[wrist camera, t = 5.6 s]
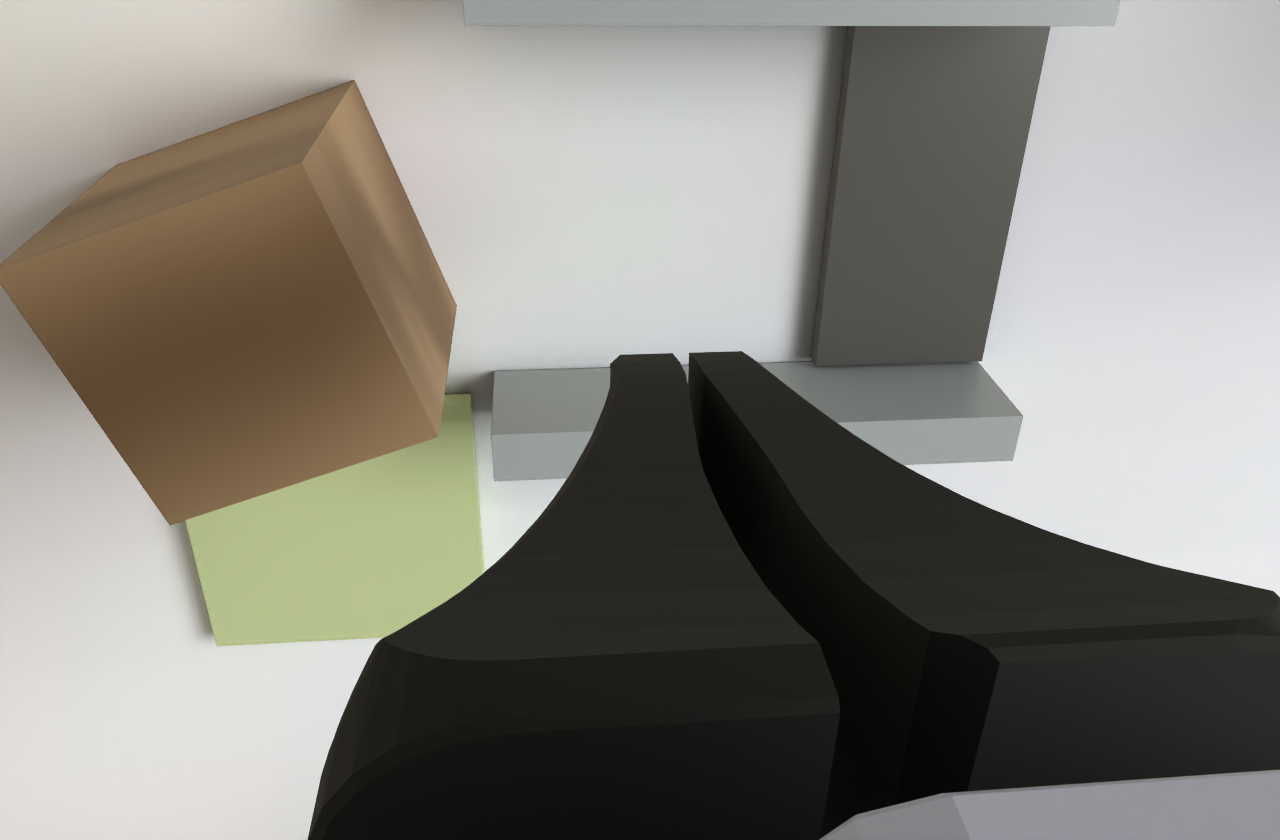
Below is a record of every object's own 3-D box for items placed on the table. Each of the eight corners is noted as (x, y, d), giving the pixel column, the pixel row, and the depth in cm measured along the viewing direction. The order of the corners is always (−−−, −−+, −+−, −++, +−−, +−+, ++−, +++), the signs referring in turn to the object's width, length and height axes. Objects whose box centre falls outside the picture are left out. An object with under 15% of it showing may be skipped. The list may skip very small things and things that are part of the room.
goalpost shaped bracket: (965, 398, 22) (1012, 460, 20) (496, 414, 21) (493, 481, 19) (1057, -61, 18) (1130, -45, 16) (467, -67, 17) (460, -50, 15)
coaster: (487, 620, 24) (487, 632, 24) (221, 634, 23) (216, 646, 23) (470, 393, 21) (469, 403, 21) (164, 403, 20) (158, 413, 20)
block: (456, 304, 20) (438, 437, 16) (243, 376, 20) (170, 524, 16) (355, 78, 18) (301, 162, 14) (117, 164, 18) (-8, 271, 14)
